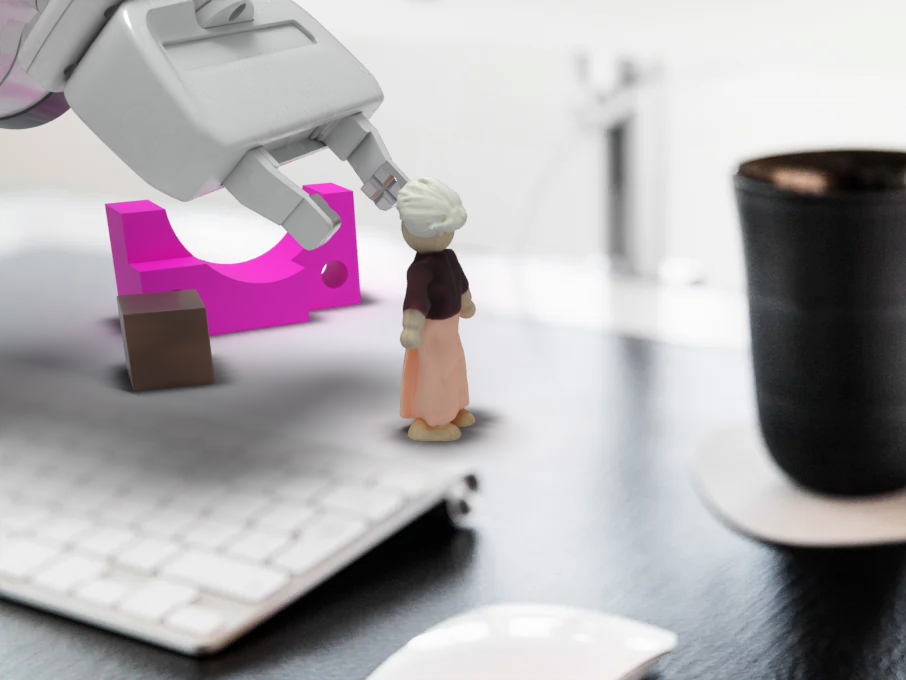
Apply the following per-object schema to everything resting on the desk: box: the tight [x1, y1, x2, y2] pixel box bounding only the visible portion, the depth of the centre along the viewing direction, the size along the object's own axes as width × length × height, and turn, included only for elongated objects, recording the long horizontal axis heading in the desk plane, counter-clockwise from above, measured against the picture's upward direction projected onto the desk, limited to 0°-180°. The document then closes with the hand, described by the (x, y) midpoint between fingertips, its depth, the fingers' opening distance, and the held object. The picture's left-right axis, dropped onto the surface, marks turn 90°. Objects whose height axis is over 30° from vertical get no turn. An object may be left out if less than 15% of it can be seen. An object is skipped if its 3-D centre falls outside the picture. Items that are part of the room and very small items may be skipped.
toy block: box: [104, 182, 362, 337], centre depth 91 cm, size 15×6×8 cm, turn 122°
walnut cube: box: [116, 289, 216, 392], centre depth 80 cm, size 4×4×4 cm
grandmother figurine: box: [395, 176, 477, 442], centre depth 70 cm, size 8×4×13 cm, turn 174°
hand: (366, 218), depth 69 cm, fingers open, 8 cm apart
